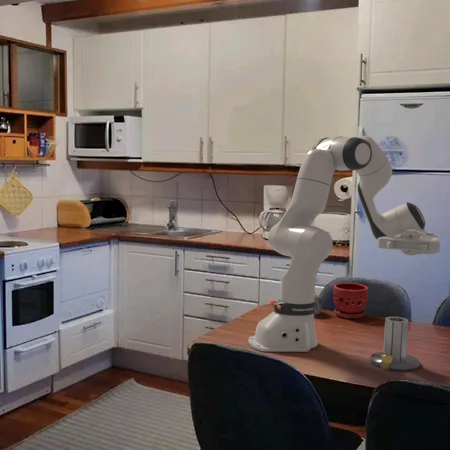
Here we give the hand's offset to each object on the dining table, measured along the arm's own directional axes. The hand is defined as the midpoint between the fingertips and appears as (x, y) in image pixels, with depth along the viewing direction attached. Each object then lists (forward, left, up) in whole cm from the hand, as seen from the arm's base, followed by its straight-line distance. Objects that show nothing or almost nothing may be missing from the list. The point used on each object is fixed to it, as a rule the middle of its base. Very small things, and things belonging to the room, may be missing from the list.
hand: (405, 246), depth 195 cm
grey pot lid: (-13, -19, -32) cm, 40 cm away
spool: (-15, +43, -32) cm, 56 cm away
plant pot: (-1, +35, -32) cm, 47 cm away
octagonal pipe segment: (-13, -19, -31) cm, 39 cm away
